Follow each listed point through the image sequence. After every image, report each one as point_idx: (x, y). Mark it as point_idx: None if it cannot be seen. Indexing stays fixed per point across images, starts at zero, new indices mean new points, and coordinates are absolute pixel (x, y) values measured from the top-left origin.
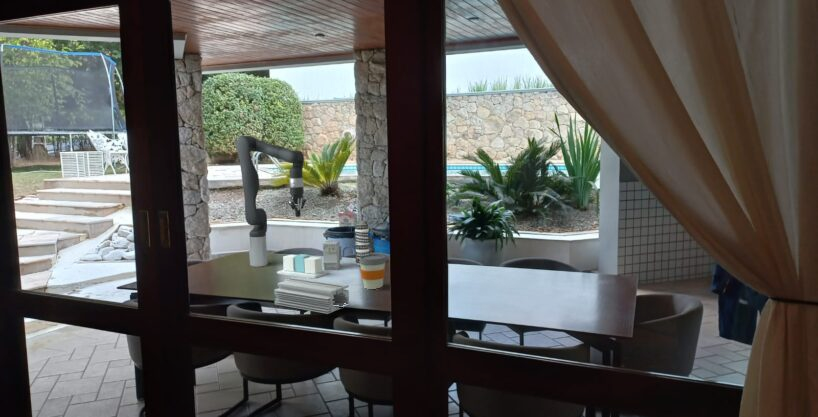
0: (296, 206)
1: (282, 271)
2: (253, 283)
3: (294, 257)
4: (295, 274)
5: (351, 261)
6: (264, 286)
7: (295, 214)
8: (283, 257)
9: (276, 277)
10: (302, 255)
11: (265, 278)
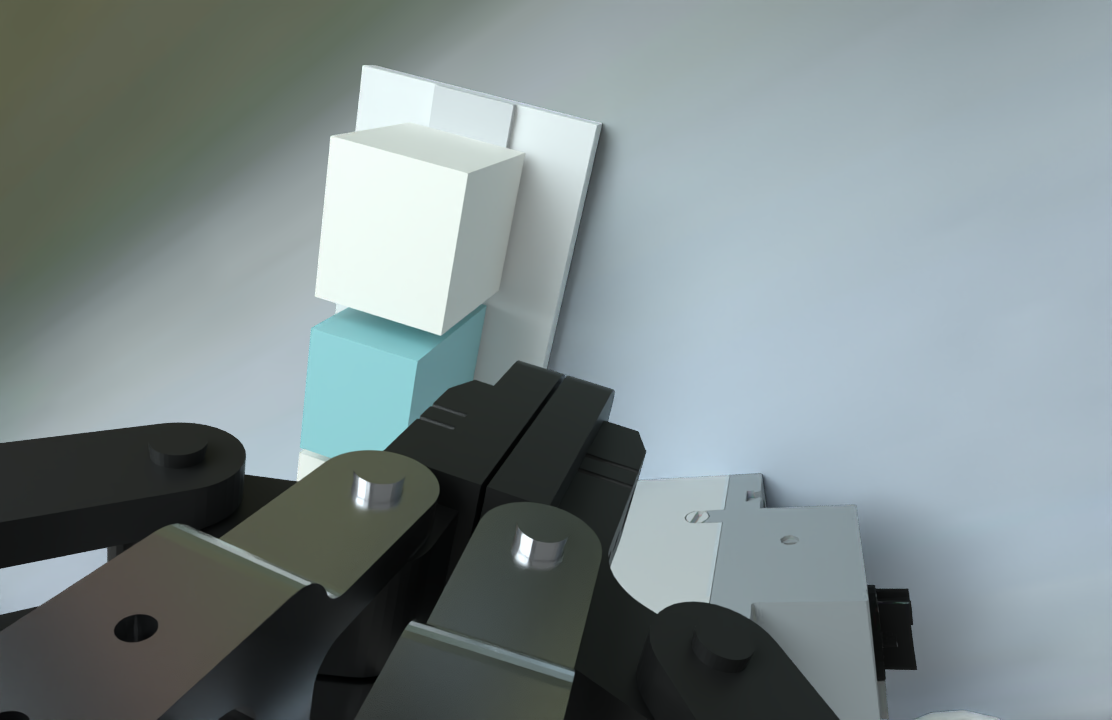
0: (433, 617)
1: (381, 126)
2: (25, 45)
3: (345, 304)
4: (338, 309)
5: (1087, 651)
6: (4, 201)
7: (439, 401)
8: (336, 143)
9: (253, 143)
10: (348, 414)
11: (189, 51)
